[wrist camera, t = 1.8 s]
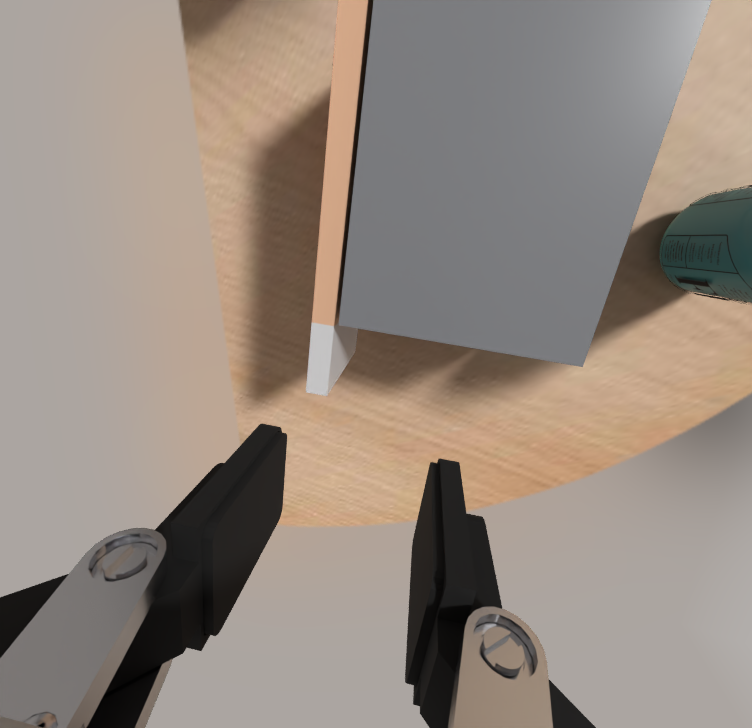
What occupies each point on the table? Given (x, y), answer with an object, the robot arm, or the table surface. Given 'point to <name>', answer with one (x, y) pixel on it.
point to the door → (338, 197)
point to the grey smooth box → (506, 165)
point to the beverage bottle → (712, 246)
